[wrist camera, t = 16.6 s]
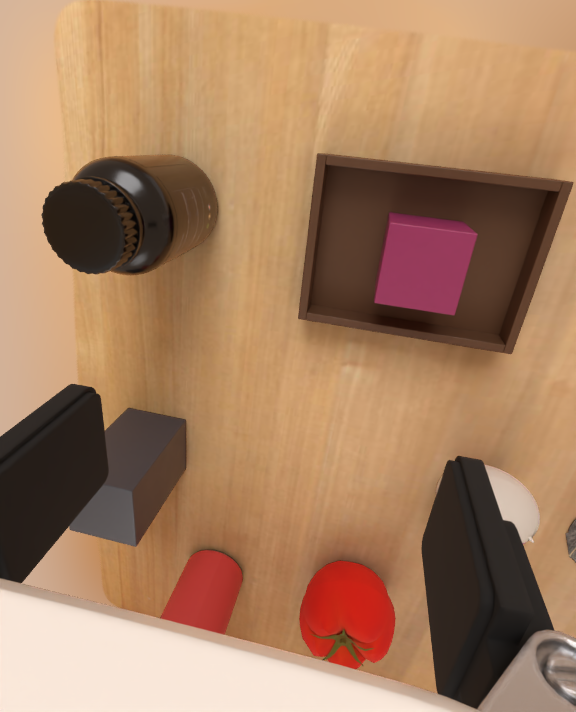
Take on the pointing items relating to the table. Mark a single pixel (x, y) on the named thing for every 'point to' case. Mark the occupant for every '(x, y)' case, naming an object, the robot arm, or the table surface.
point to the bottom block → (135, 476)
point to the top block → (423, 263)
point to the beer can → (205, 592)
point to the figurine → (513, 502)
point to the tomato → (347, 615)
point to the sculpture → (572, 541)
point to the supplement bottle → (129, 213)
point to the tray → (436, 200)
